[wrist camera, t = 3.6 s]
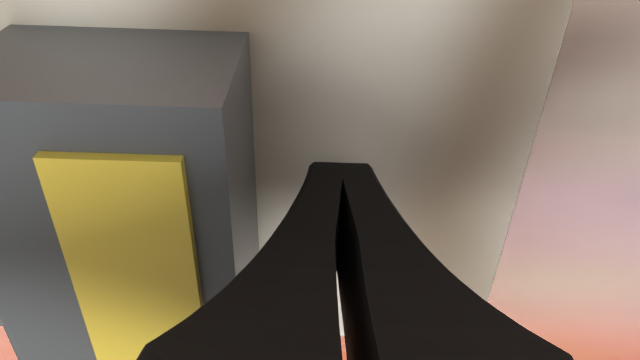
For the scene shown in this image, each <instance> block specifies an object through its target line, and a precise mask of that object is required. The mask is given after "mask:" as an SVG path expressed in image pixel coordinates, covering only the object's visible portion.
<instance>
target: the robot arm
mask: <svg viewBox="0 0 640 360" xmlns="http://www.w3.org/2000/svg"><path fill="white" fill-rule="evenodd" d="M336 273H337V276H338V285H339V294H340V302H341V311H342V319H343V327H344V336H345V344H346V353H347V360H574V359H573V358H572V356H571V355H570V354H568V353H567V352H565V351H563V350H562V349H560V348H558V347H556V346H555V345H553V344H551V343H550V342H548V341H546V340H544V339H543V338H541V337H539V336H538V335H536V334H534V333H532V332H531V331H529V330H527V329H526V328H524V327H522V326H521V325H519V324H518V323H516V322H515V321H513V320H512V319H511V318H509V317H508V316H506V315H505V314H503V313H502V312H500V311H499V310H497V309H496V308H495V307H493V306H492V305H491V304H489V303H488V302H486V301H485V300H484V299H482V298H481V297H480V296H479V295H478V294H476V293H475V292H474V291H473V290H471V289H470V288H469V287H468V286H466V285H465V284H464V283H463V282H462V281H460V280H459V279H458V278H457V277H456V276H455V275H454V274H452V273H451V272H450V271H449V270H448V269H447V268H446V267H445V266H444V265H443V264H442V263H441V262H440V261H439V260H438V259H437V258H436V257H435V256H434V255H433V254H432V253H431V251H430V250H429V249H428V248H427V247H426V246H425V245H424V244H423V242H422V241H421V240H420V239H419V238H418V236H417V235H416V234H415V233H414V232H413V230H412V229H411V228H410V226H409V225H408V224H407V223H406V221H405V220H404V219H403V217H402V216H401V214H400V213H399V211H398V210H397V209H396V207H395V206H394V204H393V203H392V201H391V200H390V198H389V197H388V195H387V194H386V192H385V190H384V189H383V187H382V186H381V184H380V182H379V180H378V178H377V177H376V175H375V173H374V171H373V169H372V167H371V166H370V165H369V164H368V163H338V162H313V163H312V164H311V165H310V166H309V168H308V172H307V175H306V178H305V180H304V183H303V185H302V187H301V189H300V191H299V193H298V195H297V197H296V198H295V200H294V202H293V204H292V205H291V207H290V209H289V211H288V212H287V214H286V215H285V217H284V218H283V220H282V221H281V223H280V224H279V226H278V227H277V228H276V230H275V231H274V233H273V234H272V236H271V237H270V238H269V240H268V241H267V242H266V243H265V245H264V246H263V247H262V248H261V250H260V251H259V252H258V253H257V254H256V255H255V257H254V258H253V259H252V260H251V261H250V262H249V263H248V264H247V265H246V266H245V267H244V268H243V269H242V270H241V271H240V272H239V273H238V274H237V275H236V277H235V278H234V279H233V280H232V281H230V282H229V283H228V284H227V285H226V286H225V287H224V288H223V289H222V290H221V291H220V292H218V293H217V294H216V295H215V296H213V297H212V298H211V299H210V300H208V301H207V302H206V303H205V304H204V305H202V306H201V307H200V308H199V309H197V310H196V311H195V312H194V313H193V314H191V315H190V316H188V317H187V318H186V319H184V320H183V321H181V322H180V323H178V324H177V325H175V326H174V327H172V328H171V329H169V330H168V331H166V332H165V333H163V334H162V335H160V336H159V337H157V338H155V339H154V340H152V341H150V342H149V343H147V344H146V345H145V346H144V348H143V349H142V351H141V352H140V354H139V356H138V358H137V359H136V360H342V350H341V339H340V327H339V313H338V298H337V280H336Z"/></svg>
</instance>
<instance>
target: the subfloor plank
mask: <svg viewBox="0 0 640 360" xmlns="http://www.w3.org/2000/svg"><path fill="white" fill-rule="evenodd" d="M573 3H574V0H0V31H1V30H2V29H4V28H5V27H7V26H8V25H10V24H14V25H45V26H75V27H106V28H137V29H167V30H198V31H229V32H249V44H250V66H251V88H252V109H253V131H254V153H255V174H256V196H257V218H258V239H259V251H260V250H261V248H262V247H263V246H264V245H265V243H266V242H267V241H268V240H269V238H270V237H271V236H272V234H273V233H274V231H275V230H276V228H277V227H278V226H279V224H280V223H281V221H282V220H283V218H284V217H285V215H286V214H287V212H288V211H289V209H290V207H291V205H292V204H293V202H294V200H295V198H296V197H297V195H298V193H299V191H300V189H301V187H302V185H303V183H304V180H305V178H306V175H307V172H308V168H309V166H310V165H311V164H312V163H313V162H338V163H368V164H369V165H370V166H371V167H372V169H373V171H374V173H375V175H376V177H377V178H378V180H379V182H380V184H381V186H382V187H383V189H384V190H385V192H386V194H387V195H388V197H389V198H390V200H391V201H392V203H393V204H394V206H395V207H396V209H397V210H398V211H399V213H400V214H401V216H402V217H403V219H404V220H405V221H406V223H407V224H408V225H409V226H410V228H411V229H412V230H413V232H414V233H415V234H416V235H417V236H418V238H419V239H420V240H421V241H422V242H423V244H424V245H425V246H426V247H427V248H428V249H429V250H430V251H431V253H432V254H433V255H434V256H435V257H436V258H437V259H438V260H439V261H440V262H441V263H442V264H443V265H444V266H445V267H446V268H447V269H448V270H449V271H450V272H451V273H452V274H454V275H455V276H456V277H457V278H458V279H459V280H460V281H462V282H463V283H464V284H465V285H466V286H468V287H469V288H470V289H471V290H473V291H474V292H475V293H476V294H478V295H479V296H480V297H481V298H482V299H484V300H485V301H486V302H487V300H488V297H489V293H490V290H491V287H492V283H493V280H494V276H495V273H496V269H497V266H498V262H499V259H500V255H501V252H502V249H503V245H504V242H505V238H506V235H507V231H508V228H509V224H510V221H511V218H512V214H513V211H514V207H515V204H516V200H517V197H518V193H519V190H520V186H521V183H522V180H523V176H524V173H525V169H526V166H527V162H528V159H529V155H530V152H531V148H532V145H533V142H534V138H535V135H536V131H537V128H538V124H539V121H540V117H541V114H542V110H543V107H544V104H545V100H546V97H547V93H548V90H549V86H550V83H551V79H552V76H553V73H554V69H555V66H556V62H557V59H558V55H559V52H560V48H561V45H562V41H563V38H564V35H565V31H566V28H567V24H568V21H569V17H570V14H571V10H572V7H573ZM336 280H337V298H338V313H339V327H340V336H344V327H343V319H342V311H341V302H340V294H339V285H338V276H337V273H336ZM0 321H1V320H0ZM1 323H2V322H1ZM2 325H3V324H2Z"/></svg>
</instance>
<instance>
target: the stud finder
mask: <svg viewBox="0 0 640 360" xmlns="http://www.w3.org/2000/svg"><path fill="white" fill-rule="evenodd" d="M258 252H259V239H258V218H257V196H256V174H255V153H254V131H253V109H252V88H251V66H250V44H249V32H229V31H198V30H167V29H137V28H106V27H75V26H45V25H14V24H10V25H8V26H7V27H5V28H4V29H2V30H1V31H0V320H1V322H2V324H3V327H4V329H5V331H6V333H7V336H8V338H9V340H10V342H11V345H12V347H13V349H14V351H15V354H16V356H17V358H18V360H136V359H137V358H138V356H139V354H140V352H141V351H142V349H143V348H144V346H145V345H146V344H147V343H149V342H150V341H152V340H154V339H155V338H157V337H159V336H160V335H162V334H163V333H165V332H166V331H168V330H169V329H171V328H172V327H174V326H175V325H177V324H178V323H180V322H181V321H183V320H184V319H186V318H187V317H188V316H190V315H191V314H193V313H194V312H195V311H196V310H197V309H199V308H200V307H201V306H202V305H204V304H205V303H206V302H207V301H208V300H210V299H211V298H212V297H213V296H215V295H216V294H217V293H218V292H220V291H221V290H222V289H223V288H224V287H225V286H226V285H227V284H228V283H229V282H230V281H232V280H233V279H234V278H235V277H236V275H237V274H238V273H239V272H240V271H241V270H242V269H243V268H244V267H245V266H246V265H247V264H248V263H249V262H250V261H251V260H252V259H253V258H254V257H255V255H256V254H257V253H258Z"/></svg>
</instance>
